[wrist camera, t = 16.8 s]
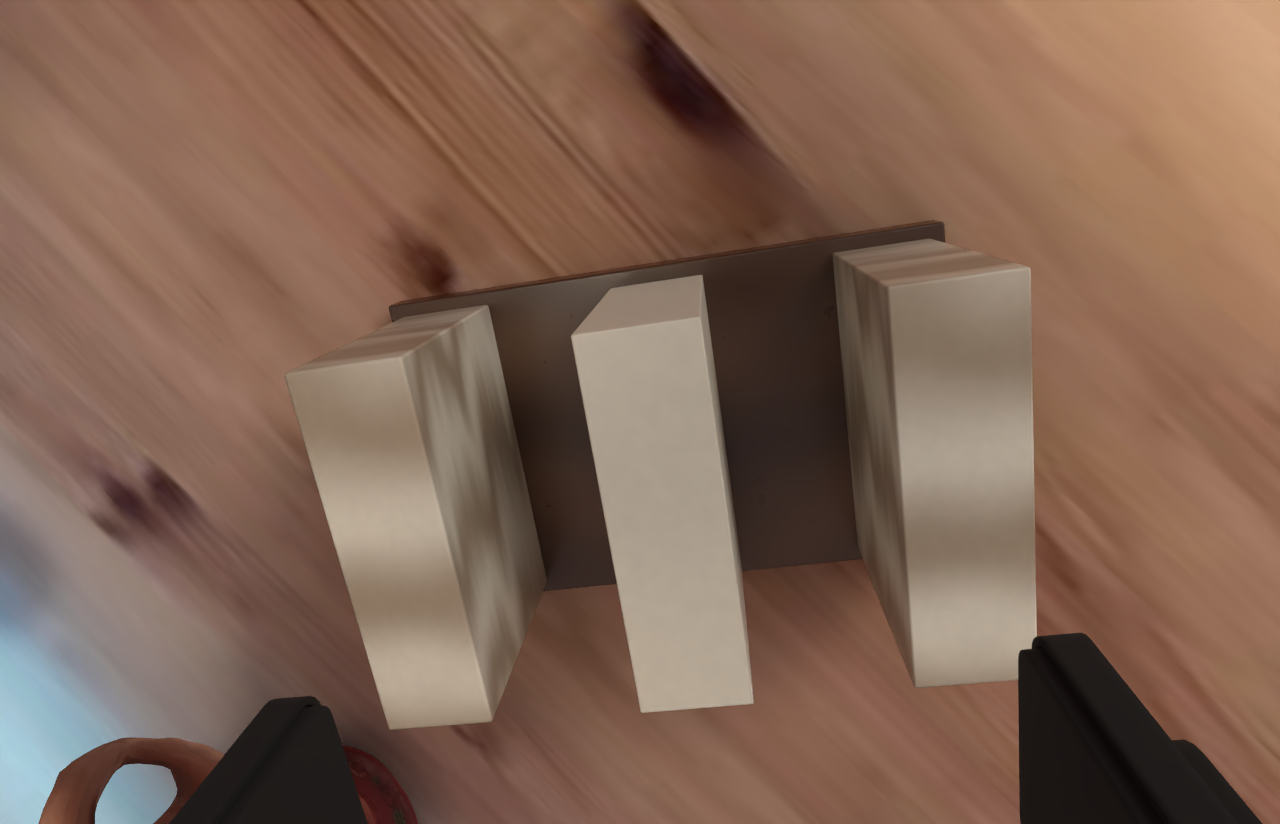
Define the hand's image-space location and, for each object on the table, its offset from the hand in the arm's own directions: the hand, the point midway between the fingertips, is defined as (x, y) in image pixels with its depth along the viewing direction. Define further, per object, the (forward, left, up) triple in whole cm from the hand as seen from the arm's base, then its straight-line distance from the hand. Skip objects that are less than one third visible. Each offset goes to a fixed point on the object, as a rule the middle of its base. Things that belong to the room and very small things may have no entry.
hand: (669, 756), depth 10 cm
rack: (+2, -1, -22) cm, 22 cm away
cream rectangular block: (+2, -1, -21) cm, 21 cm away
